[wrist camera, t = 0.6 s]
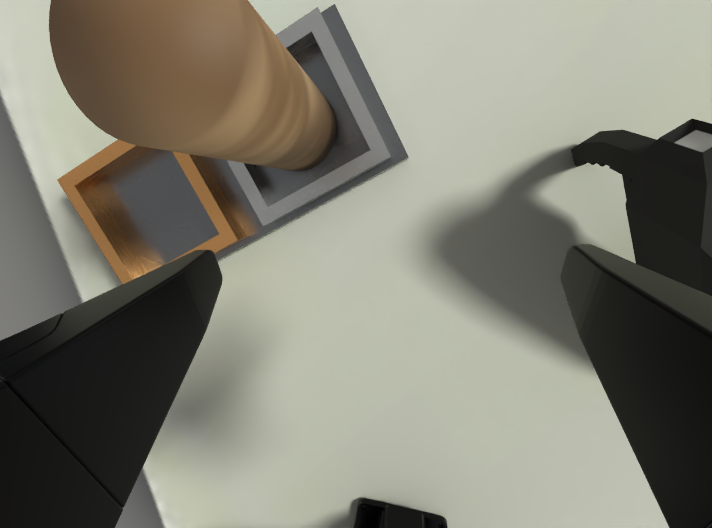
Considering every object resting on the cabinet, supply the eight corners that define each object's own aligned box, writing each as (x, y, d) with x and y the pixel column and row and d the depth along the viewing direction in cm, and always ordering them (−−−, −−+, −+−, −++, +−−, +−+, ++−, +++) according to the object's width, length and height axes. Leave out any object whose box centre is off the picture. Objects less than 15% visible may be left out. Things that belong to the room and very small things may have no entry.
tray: (337, 12, 20) (329, -11, 18) (408, 158, 22) (409, 154, 19) (78, 181, 24) (42, 180, 22) (149, 297, 26) (123, 309, 23)
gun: (596, 297, 28) (725, 416, 20) (541, 113, 19) (736, 190, 11) (633, 278, 27) (782, 393, 19) (594, 78, 18) (843, 132, 10)
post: (330, 177, 21) (233, 161, 9) (252, 164, 22) (51, 131, 9) (342, 90, 20) (252, -69, 8) (260, 78, 21) (46, -94, 8)
